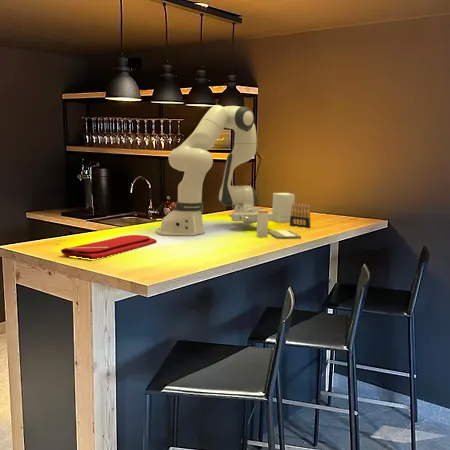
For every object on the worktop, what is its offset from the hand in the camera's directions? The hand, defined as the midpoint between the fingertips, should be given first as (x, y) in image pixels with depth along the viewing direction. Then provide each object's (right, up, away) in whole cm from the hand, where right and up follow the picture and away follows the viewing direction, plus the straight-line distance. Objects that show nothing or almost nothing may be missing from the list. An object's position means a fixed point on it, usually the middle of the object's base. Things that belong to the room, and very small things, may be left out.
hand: (256, 218), depth 267 cm
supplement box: (+16, -1, +37) cm, 41 cm away
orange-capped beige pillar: (+2, -8, -9) cm, 12 cm away
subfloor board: (+12, -8, -6) cm, 16 cm away
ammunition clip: (+23, -4, +21) cm, 31 cm away
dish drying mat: (-59, -13, -42) cm, 74 cm away
